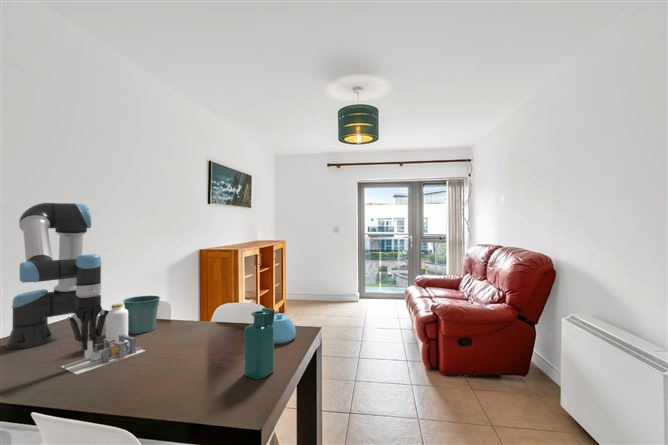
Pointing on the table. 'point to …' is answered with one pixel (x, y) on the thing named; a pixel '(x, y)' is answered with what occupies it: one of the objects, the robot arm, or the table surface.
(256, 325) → the teal bottle
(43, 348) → the table surface
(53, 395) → the table surface
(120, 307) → the potion bottle
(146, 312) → the flower pot
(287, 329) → the sugar bowl
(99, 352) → the tube
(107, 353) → the collar board
